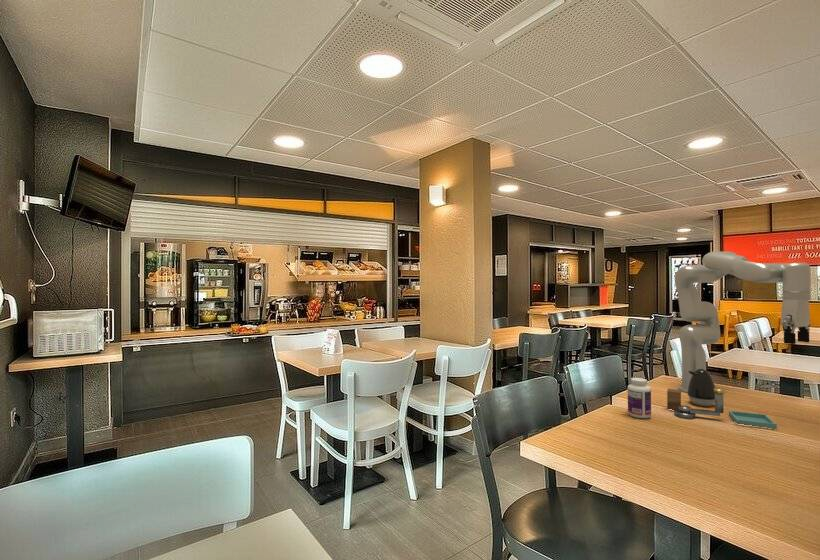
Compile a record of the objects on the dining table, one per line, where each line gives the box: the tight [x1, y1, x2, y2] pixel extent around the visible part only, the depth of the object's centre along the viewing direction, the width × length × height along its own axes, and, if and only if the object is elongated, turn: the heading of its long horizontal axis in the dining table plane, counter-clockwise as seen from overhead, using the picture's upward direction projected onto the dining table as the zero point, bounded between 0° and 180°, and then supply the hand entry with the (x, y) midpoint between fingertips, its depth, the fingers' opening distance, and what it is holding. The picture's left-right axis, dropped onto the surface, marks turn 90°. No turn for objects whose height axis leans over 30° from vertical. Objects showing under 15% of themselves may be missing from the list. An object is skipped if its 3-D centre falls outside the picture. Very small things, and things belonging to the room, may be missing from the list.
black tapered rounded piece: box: [686, 369, 716, 407], centre depth 174 cm, size 10×10×15 cm
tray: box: [728, 410, 778, 429], centre depth 152 cm, size 11×11×2 cm
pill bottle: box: [627, 377, 652, 419], centre depth 160 cm, size 8×8×14 cm
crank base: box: [673, 409, 697, 420], centre depth 160 cm, size 7×7×2 cm
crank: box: [679, 387, 725, 417], centre depth 157 cm, size 15×4×10 cm, turn 64°
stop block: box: [666, 388, 682, 410], centre depth 167 cm, size 4×4×8 cm
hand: (796, 342), depth 151 cm, fingers open, 9 cm apart
